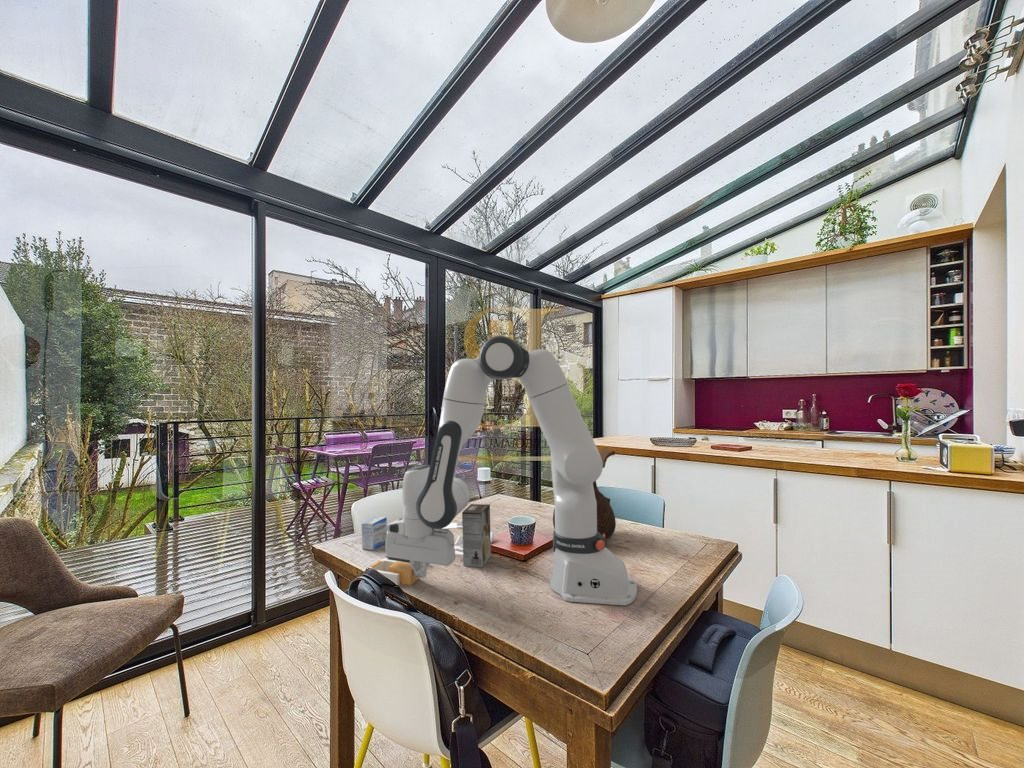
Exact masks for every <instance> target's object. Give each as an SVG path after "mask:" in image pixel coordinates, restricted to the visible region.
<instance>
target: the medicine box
mask: <svg viewBox="0 0 1024 768" xmlns="http://www.w3.org/2000/svg"><path fill="white" fill-rule="evenodd" d="M387 519H388V518H387V517H386V516H375V517H373V518H371V519H368V520H366V521H365V522H362V523H361V546H362V547H361V548H362V550H367V551H368V550H369V551H374V550H376V549H378V548H380V547H381V546H383V545H385V541H386V535H387V533H388V531H387V525H388V522H387V521H388V520H387Z"/></svg>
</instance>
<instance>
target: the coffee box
mask: <svg viewBox="0 0 1024 768" xmlns="http://www.w3.org/2000/svg"><path fill="white" fill-rule="evenodd" d="M490 507H491V505H490V504H487V503H486V504H482V503H481V504H480V503H470V504H469V505H467V506H466V507H465V508H464V509H463V510H462V511H461V512H462V513H461V516H462V517H461V519H462V526H463V528H462V537H463V547H462V548H463V550H462V552H463V555H462V563H463V565H462V566H463V567H476V568H477V567H478V568H483V567H484V566H485V565H486V564H487V561H488V560H489V558H490V557H491V555H492V549H491V547H492V546H491V544H492V543H491V540H490V532H491V508H490Z"/></svg>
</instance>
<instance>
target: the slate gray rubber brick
mask: <svg viewBox="0 0 1024 768" xmlns="http://www.w3.org/2000/svg"><path fill="white" fill-rule="evenodd" d="M389 560H394V561H401V562H407V563H410V560H405V559H399V558H393V557H389Z"/></svg>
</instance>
